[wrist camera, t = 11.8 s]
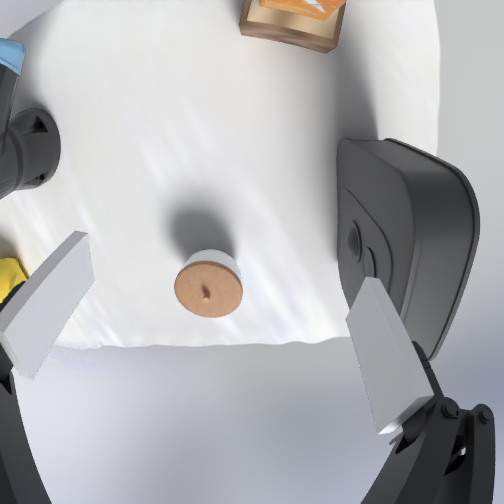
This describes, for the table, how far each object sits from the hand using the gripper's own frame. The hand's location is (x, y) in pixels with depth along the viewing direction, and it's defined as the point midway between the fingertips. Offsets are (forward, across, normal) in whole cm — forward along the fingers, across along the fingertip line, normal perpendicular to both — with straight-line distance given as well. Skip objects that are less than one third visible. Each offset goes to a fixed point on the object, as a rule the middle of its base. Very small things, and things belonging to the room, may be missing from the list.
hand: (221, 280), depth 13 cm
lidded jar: (+32, -2, -21) cm, 38 cm away
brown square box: (+31, +3, +23) cm, 39 cm away
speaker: (+32, +19, -6) cm, 37 cm away
